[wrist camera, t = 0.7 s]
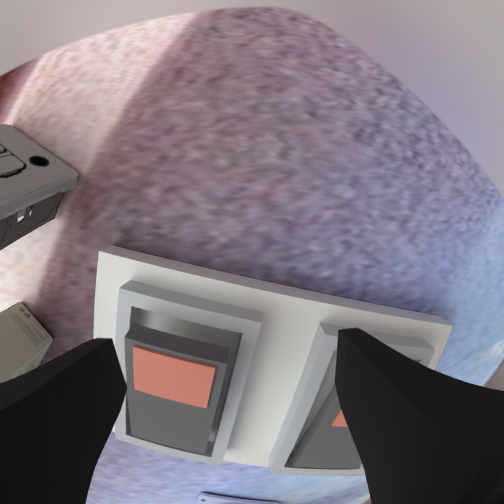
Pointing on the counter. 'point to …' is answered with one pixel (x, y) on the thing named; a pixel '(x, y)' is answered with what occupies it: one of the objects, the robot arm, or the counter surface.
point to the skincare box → (20, 342)
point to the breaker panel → (251, 348)
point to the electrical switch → (28, 184)
